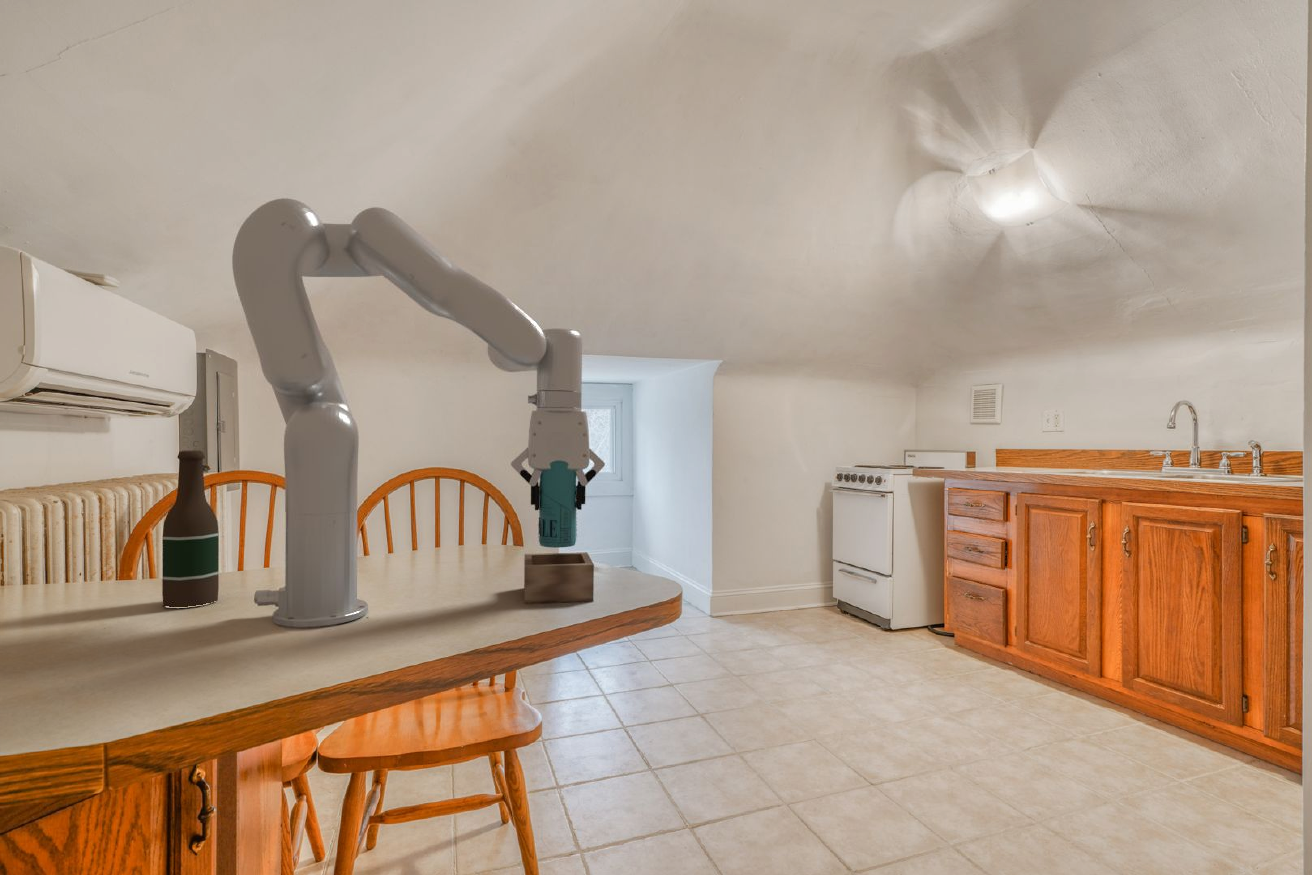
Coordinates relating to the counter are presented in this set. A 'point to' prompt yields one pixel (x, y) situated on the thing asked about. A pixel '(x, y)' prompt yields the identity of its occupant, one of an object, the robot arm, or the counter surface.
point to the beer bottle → (190, 540)
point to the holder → (558, 577)
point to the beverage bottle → (557, 506)
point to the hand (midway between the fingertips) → (557, 508)
